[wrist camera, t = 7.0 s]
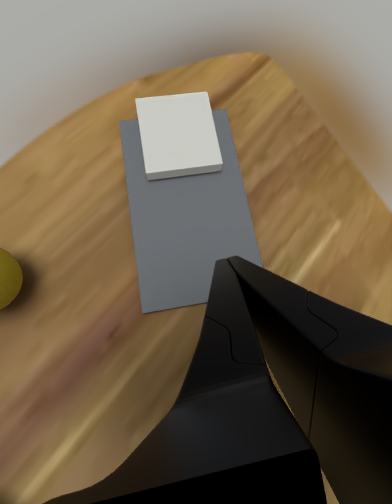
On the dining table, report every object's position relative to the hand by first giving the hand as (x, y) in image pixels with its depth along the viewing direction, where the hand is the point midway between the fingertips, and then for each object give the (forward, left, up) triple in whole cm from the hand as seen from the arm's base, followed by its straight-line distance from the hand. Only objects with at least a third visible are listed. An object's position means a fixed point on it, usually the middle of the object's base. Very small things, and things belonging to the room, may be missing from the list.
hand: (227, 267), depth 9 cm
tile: (+10, -4, -11) cm, 15 cm away
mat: (+8, -3, -13) cm, 15 cm away
